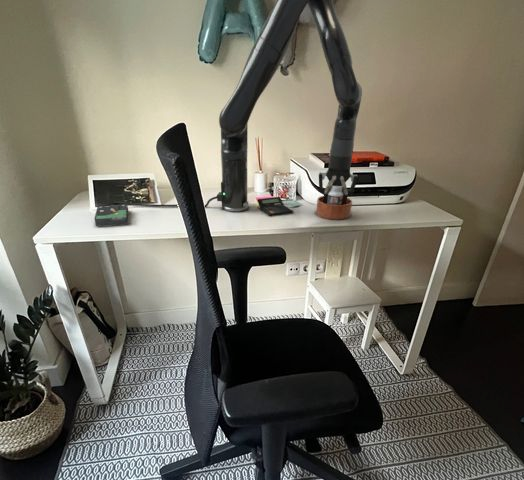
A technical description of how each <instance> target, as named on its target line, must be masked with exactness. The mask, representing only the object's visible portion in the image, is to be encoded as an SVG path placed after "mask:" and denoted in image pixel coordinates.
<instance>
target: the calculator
mask: <svg viewBox="0 0 524 480" xmlns="http://www.w3.org/2000/svg"><path fill="white" fill-rule="evenodd" d="M282 200H283V199H281V196H274V197H264V198H258V199H257V204H258V205H259V207H260V210H261V211H262V212H264V214H266V215H268V216H269V217H274V216H283V215H291V214H294V210H293V209H291V208H289V207H288V206H286V205H284V203H283V201H282Z"/></svg>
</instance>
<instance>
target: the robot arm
mask: <svg viewBox="0 0 524 480" xmlns="http://www.w3.org/2000/svg"><path fill="white" fill-rule="evenodd" d="M306 6H307V7H308V9H309V11H310V13H311V15H312V18H313V21H314V24H315V27H316V31H317V34H318V39H319V41H320V45H321V49H322V52H323V56H324V59H325V62H326V65H327V69H328V71H329V74H330V76H331V77H330V78H331V82H332V86H333V91H334V96H335V99H336V102H337V103H338V108H337V115H336V119H335V121H334V126H333V134H332V141H331V145H330V150H329V160H328V168H327V171H326V172H318V190H319V192H320V193H323V196H324V197H323V203H325V204H327V197H328V192H329V191H330V188H331V186H332V185H333V186H335V185H338V186H342V187H343V190H342V191H343V193H344V195H343V202H342V205H344V204H346V202H347V198H348V195H353V194H354V191H355V189H356V184H357V183H358V179H359V176H358V174H352V173H351V167H352V166H351V165H352V158H353V154H354V146H355V137H356V130H357V119H358V116H359V111H360V106H361V102H362V98H363V97H362V96H363V88H362V85H361V84H360V83H359V82H358V81H357V78H356V74H355V72H354V68H353V58H352V55H351V51H350V48H349V44H348V41H347V38H346V35H345V32H344V29H343V27H342V24H341V22H340V20H339V17H338V15H337V11H336V9H335V6H334V1H333V0H276V2H275V4H274V5H273V7H272V9H271V11H270V13H269V14H268V16H267V18H266V20H265V22H264V24H263V26H262V28H261V29H260V31H259V33H258V35H257V37H256V40H255V42H254V44H253V46H252V47H251V49H250V52H249V54H248V57H247V59H246V62H245V64H244V67H243V70H242V72H241V75H240V78H239V81H238V82H237V85H236V87H235V89H234V91H233V93H232V94H231V96H230V98H229V99H228V101H227V103H226V104H225V105H224V107H223V108H222V109H221V111H220V113H219V116H218V124H219V128H220V139H221V140H220V160H221V181H220V191H218V193H217V194H216V196H213V197H211V198H209V199H208V200H207V202H206V204H204V205H205V207H204V208H207V207H208V206H209V204H210V203H211V202H212V201H214V200H216V201H217V202H221V210H225V211H227V212H243V211H246V210H248V208H249V201H248V149H249V147H248V142H249V141H248V123H249V120H250V118H251V115H252V113H253V110H254V109H255V106H256V104H257V102H258V100H259V98H260V97H261V95H263V93H264V91H265V90H266V88H267V87H268V85H269V84H270V82H271V80H272V79H273V77H274V76H275V74H276V73H277V71H278V69H279V67H280V65H281V64H282V61H283V60H284V58H285V56H286V54H287V51H288V49H289V47H290V45H291V42H292V40H293V37H294V34H295V31H296V29H297V27H298V26H297V25H298V22H299V21H300V18H301V16H302V14H303V12H304V10H305V9H306ZM325 177H326V178H327V180H328V182H327V184H326V186H325V187H324V185H323V184H324V183H323V181H324V180H325ZM349 179H350V181H351V185H350V188H349V189H348V187H347V181H348V180H349ZM114 202H115V203H114V205H121V204H127V205H128V206H129V205H130V206H141V207H163V208H164V207H165V208H167V207H168V208H171V207H172V208H173V207H174V208H175V207H176V208H179V206H177V205H178V204H157V203H156V204H155V203H140V202H139V203H137V202H126V201H114ZM116 202H117V203H116Z"/></svg>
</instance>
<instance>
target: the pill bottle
mask: <svg viewBox="0 0 524 480" xmlns="http://www.w3.org/2000/svg"><path fill="white" fill-rule="evenodd" d="M343 195H344V190H343V187H342V186H338V185H335V186H333V185H332V186H331V188H330V189H329V191H328V197H327V204H330V205H342V202H343Z"/></svg>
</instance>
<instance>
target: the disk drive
mask: <svg viewBox="0 0 524 480" xmlns="http://www.w3.org/2000/svg"><path fill="white" fill-rule="evenodd" d="M128 206H129V205H128V204H110V205H105V204H104V205H102V204H101V205H97V206H96V211H95V215H94V223H95V226H96V227H107V226H123V225H129V213H130V212H129V207H128Z"/></svg>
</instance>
